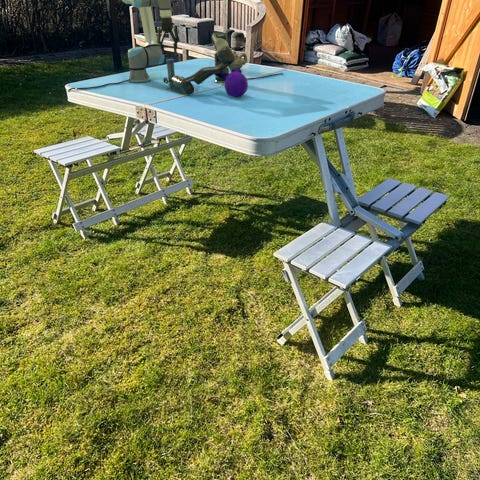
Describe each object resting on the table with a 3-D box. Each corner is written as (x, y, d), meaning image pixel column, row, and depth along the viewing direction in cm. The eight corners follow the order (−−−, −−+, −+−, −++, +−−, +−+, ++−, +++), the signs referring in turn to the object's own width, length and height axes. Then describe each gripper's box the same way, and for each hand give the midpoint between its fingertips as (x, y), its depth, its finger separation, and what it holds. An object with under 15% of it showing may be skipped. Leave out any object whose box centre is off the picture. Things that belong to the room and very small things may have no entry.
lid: (165, 63, 307) (165, 60, 306) (167, 62, 311) (167, 59, 310) (173, 63, 306) (172, 60, 305) (174, 61, 311) (174, 58, 310)
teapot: (227, 73, 361) (227, 53, 353) (221, 70, 369) (220, 51, 362) (250, 70, 370) (250, 50, 362) (243, 68, 378) (242, 49, 371)
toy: (234, 89, 306) (247, 103, 285) (210, 85, 299) (222, 98, 278) (240, 65, 298) (254, 78, 277) (215, 60, 291) (228, 72, 270)
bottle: (168, 88, 315) (165, 60, 306) (169, 86, 319) (167, 59, 310) (175, 88, 315) (172, 60, 306) (176, 86, 319) (174, 59, 310)
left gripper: (177, 15, 302) (180, 51, 314) (148, 17, 292) (152, 54, 303) (183, 16, 297) (185, 53, 308) (153, 18, 287) (157, 56, 298)
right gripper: (169, 89, 302) (161, 84, 315) (188, 86, 307) (180, 82, 320) (168, 77, 298) (160, 73, 311) (188, 75, 304) (179, 71, 316)
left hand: (169, 53), depth 306 cm, fingers open, 9 cm apart
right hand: (170, 78), depth 315 cm, fingers open, 8 cm apart
